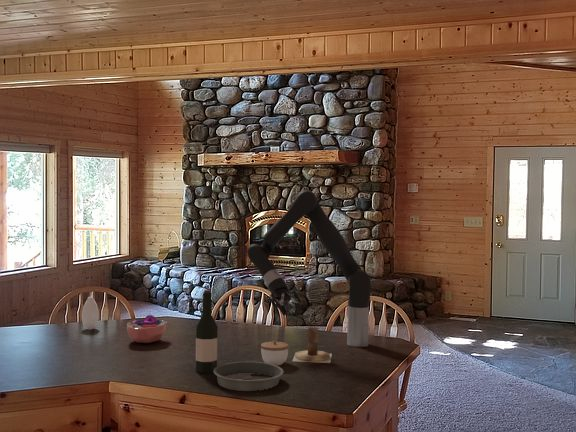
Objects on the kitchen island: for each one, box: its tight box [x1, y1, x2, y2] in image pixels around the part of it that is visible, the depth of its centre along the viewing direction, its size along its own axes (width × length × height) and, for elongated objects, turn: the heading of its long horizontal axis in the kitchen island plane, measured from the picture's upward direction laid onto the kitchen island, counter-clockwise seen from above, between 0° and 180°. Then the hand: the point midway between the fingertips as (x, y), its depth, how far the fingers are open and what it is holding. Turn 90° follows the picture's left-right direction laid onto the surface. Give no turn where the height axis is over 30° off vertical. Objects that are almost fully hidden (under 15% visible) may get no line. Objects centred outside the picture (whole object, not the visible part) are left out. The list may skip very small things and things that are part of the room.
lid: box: [294, 326, 331, 363], centre depth 269 cm, size 14×14×12 cm
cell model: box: [126, 314, 168, 344], centre depth 292 cm, size 17×20×11 cm
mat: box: [291, 353, 333, 364], centre depth 270 cm, size 15×15×1 cm
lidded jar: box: [260, 339, 289, 366], centre depth 259 cm, size 11×11×9 cm
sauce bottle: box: [81, 291, 100, 331], centre depth 316 cm, size 8×8×18 cm
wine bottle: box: [195, 289, 219, 374], centre depth 248 cm, size 8×8×30 cm
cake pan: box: [213, 361, 284, 392], centre depth 235 cm, size 25×25×4 cm
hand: (293, 313), depth 277 cm, fingers open, 8 cm apart
